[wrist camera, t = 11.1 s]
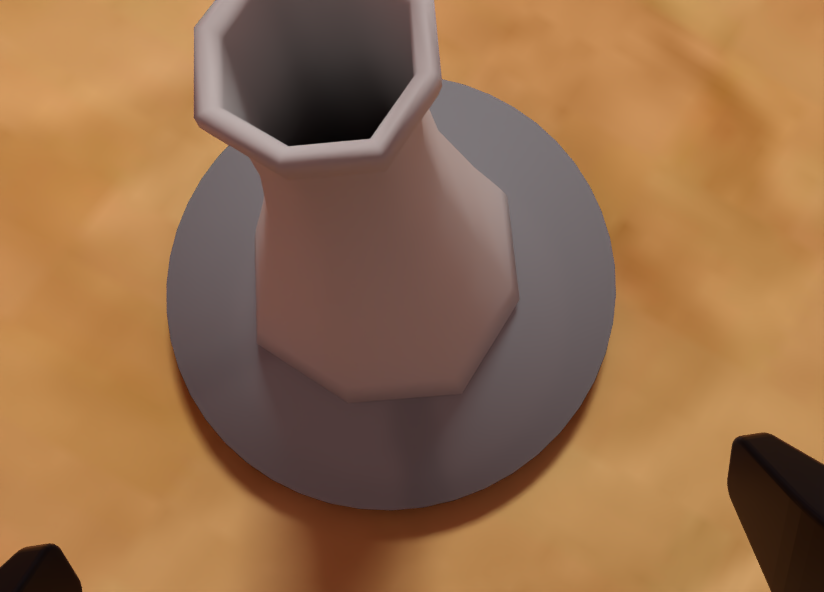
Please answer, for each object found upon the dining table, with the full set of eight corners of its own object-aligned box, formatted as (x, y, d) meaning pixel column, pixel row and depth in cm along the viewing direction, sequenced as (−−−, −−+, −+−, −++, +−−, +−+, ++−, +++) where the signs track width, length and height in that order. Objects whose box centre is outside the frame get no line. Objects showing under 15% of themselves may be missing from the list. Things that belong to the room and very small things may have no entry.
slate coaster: (630, 501, 17) (639, 504, 16) (165, 513, 17) (152, 516, 17) (588, 79, 20) (593, 64, 19) (189, 99, 20) (178, 85, 20)
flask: (294, 124, 19) (139, -223, 9) (545, 176, 18) (659, -141, 9) (216, 370, 18) (-68, 259, 8) (488, 439, 17) (547, 409, 7)
